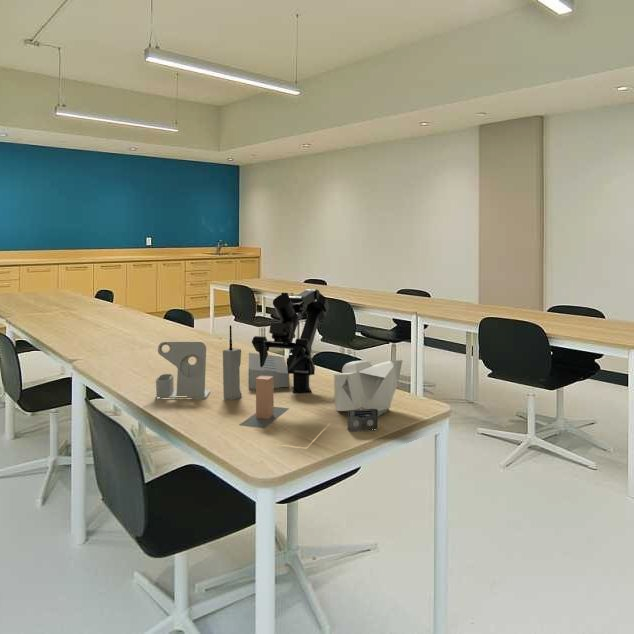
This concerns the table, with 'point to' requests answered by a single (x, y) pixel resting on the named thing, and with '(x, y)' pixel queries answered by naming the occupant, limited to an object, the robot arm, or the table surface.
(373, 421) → the mini dv tape
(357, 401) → the folded paper
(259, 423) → the charcoal mat
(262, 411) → the terracotta block
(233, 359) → the vintage mobile phone
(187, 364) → the phone holder
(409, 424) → the table surface
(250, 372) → the warehouse
